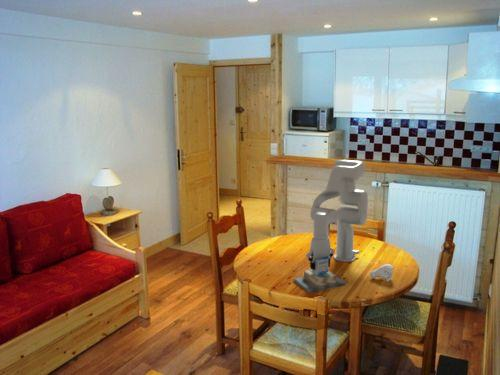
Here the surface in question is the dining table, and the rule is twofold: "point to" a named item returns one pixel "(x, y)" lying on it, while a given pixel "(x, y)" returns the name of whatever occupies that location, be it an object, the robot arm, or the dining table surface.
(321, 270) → the medicine box
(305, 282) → the plinth
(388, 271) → the grey rock
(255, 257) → the dining table surface
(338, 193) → the robot arm
